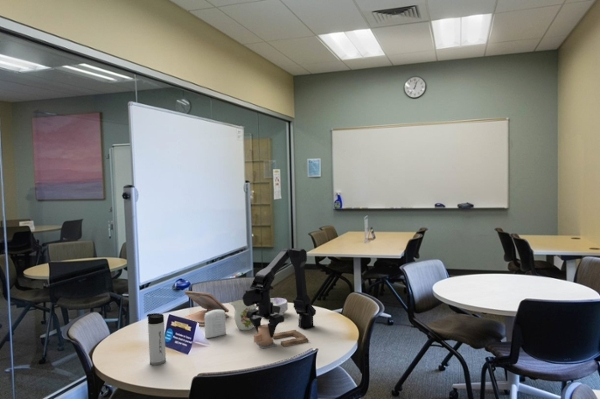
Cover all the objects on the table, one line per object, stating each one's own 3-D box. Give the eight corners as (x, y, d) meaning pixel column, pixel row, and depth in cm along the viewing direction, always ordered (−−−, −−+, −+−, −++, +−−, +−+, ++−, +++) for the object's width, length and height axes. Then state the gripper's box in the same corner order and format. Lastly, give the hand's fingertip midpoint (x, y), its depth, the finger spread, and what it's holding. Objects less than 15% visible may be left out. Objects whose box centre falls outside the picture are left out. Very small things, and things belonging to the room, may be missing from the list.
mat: (269, 339, 199) (269, 338, 199) (276, 345, 191) (276, 345, 191) (255, 342, 196) (255, 341, 196) (261, 348, 188) (261, 348, 188)
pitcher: (268, 327, 215) (267, 300, 215) (233, 334, 208) (232, 305, 207) (261, 321, 225) (259, 295, 225) (227, 327, 218) (226, 300, 217)
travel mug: (151, 359, 180) (149, 312, 179) (167, 358, 180) (165, 311, 180) (147, 365, 174) (144, 316, 173) (164, 364, 174) (161, 315, 174)
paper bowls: (254, 317, 233) (253, 303, 233) (270, 310, 246) (270, 296, 246) (277, 321, 225) (277, 306, 225) (293, 313, 238) (292, 299, 238)
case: (231, 316, 237) (229, 287, 237) (203, 327, 220) (202, 296, 219) (204, 312, 248) (203, 284, 248) (175, 322, 231) (174, 292, 230)
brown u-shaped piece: (295, 332, 207) (295, 329, 207) (308, 341, 194) (308, 338, 194) (271, 337, 202) (271, 334, 202) (283, 346, 189) (283, 343, 189)
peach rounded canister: (266, 339, 198) (265, 323, 198) (276, 342, 194) (275, 326, 193) (250, 346, 191) (249, 329, 190) (260, 349, 186) (260, 332, 186)
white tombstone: (223, 332, 211) (222, 307, 211) (227, 334, 208) (226, 309, 207) (203, 336, 206) (202, 311, 205) (207, 339, 202) (206, 313, 202)
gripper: (291, 299, 193) (293, 334, 193) (262, 294, 205) (263, 326, 205) (274, 305, 184) (275, 341, 185) (244, 299, 196) (246, 333, 197)
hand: (265, 335), depth 193 cm, fingers open, 8 cm apart
